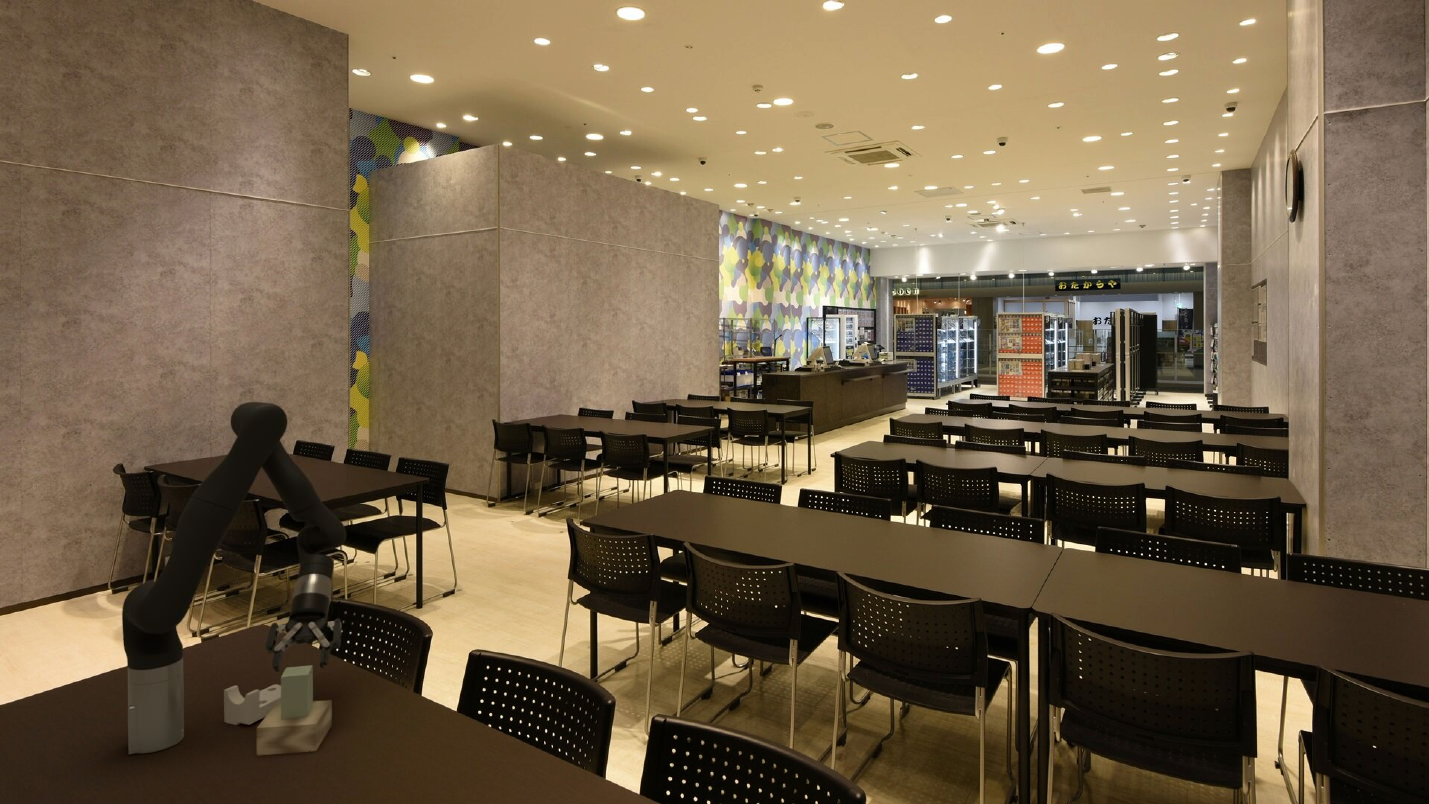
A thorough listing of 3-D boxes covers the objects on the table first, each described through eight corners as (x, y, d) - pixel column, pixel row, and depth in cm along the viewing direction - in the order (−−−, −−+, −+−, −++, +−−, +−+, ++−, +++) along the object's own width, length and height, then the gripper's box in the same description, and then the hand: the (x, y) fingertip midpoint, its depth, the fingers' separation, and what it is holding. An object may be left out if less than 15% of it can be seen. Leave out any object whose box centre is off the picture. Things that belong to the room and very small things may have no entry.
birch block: (256, 756, 152) (256, 728, 151) (276, 730, 162) (276, 703, 162) (315, 752, 154) (315, 724, 154) (331, 726, 165) (331, 700, 164)
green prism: (280, 719, 155) (280, 677, 155) (286, 708, 160) (286, 667, 159) (308, 716, 157) (307, 674, 156) (312, 706, 161) (312, 665, 161)
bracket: (249, 729, 163) (249, 694, 162) (224, 723, 165) (224, 690, 164) (298, 703, 175) (298, 671, 175) (274, 698, 177) (274, 667, 177)
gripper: (272, 593, 165) (258, 664, 155) (344, 589, 169) (334, 658, 159) (279, 609, 170) (265, 679, 160) (347, 604, 175) (338, 672, 164)
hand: (299, 668), depth 160 cm, fingers open, 8 cm apart
